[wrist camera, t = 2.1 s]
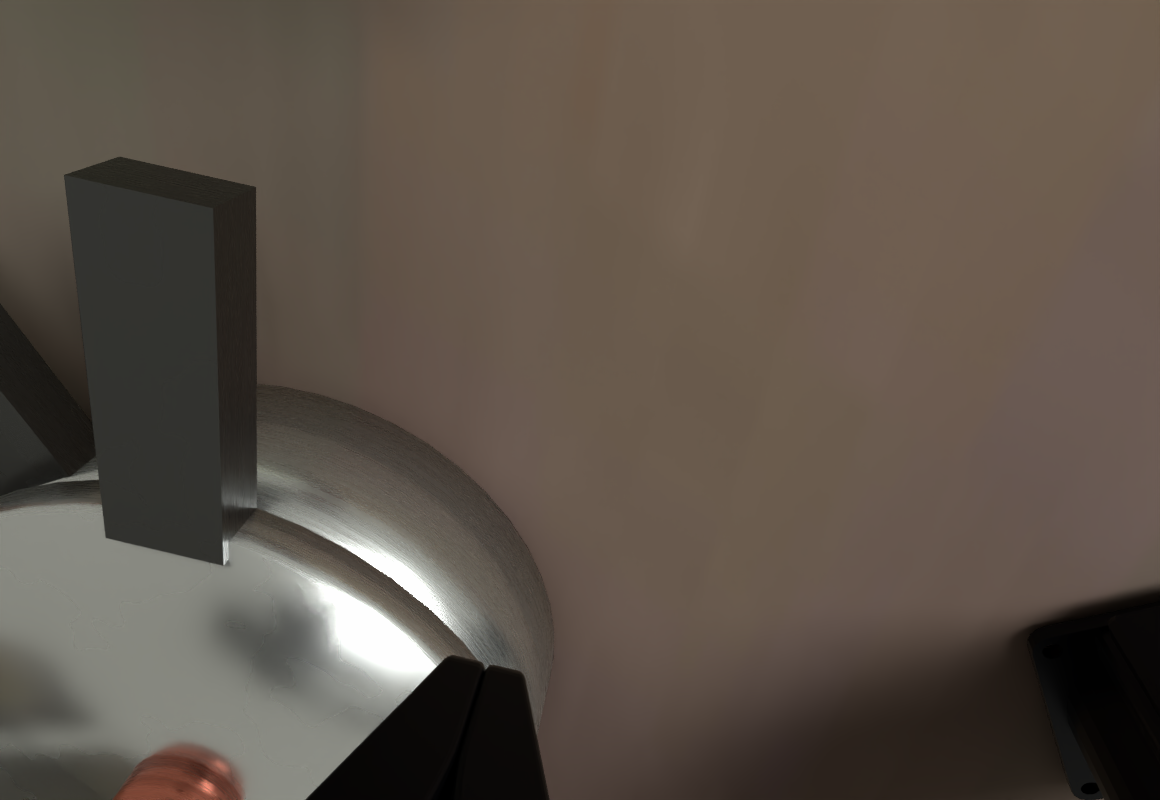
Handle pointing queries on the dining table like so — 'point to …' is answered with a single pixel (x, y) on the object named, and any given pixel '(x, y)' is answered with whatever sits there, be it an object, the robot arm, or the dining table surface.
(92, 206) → the cooker lid
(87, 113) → the dining table surface
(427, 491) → the cooker pot
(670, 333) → the dining table surface
